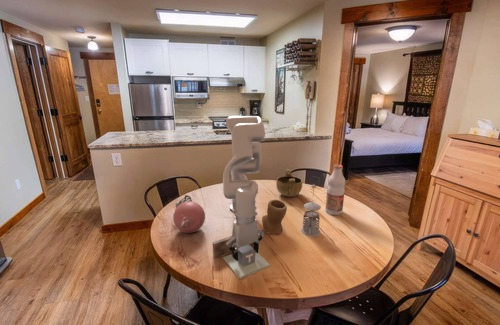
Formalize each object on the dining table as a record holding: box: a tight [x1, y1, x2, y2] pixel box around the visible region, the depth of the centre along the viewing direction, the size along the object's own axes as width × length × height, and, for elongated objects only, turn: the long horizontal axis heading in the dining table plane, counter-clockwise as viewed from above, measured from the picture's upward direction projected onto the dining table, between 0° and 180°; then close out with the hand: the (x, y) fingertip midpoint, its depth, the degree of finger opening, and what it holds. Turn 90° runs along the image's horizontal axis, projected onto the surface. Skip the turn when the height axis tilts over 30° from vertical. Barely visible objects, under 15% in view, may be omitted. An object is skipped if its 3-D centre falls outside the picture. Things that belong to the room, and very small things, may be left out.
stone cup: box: [261, 199, 288, 235], centre depth 130 cm, size 15×12×15 cm
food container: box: [175, 194, 193, 208], centre depth 144 cm, size 12×6×10 cm, turn 168°
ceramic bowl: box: [275, 169, 303, 198], centre depth 170 cm, size 22×17×15 cm
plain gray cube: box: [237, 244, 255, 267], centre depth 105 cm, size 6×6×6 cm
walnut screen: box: [212, 235, 253, 259], centre depth 114 cm, size 20×2×7 cm, turn 121°
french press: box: [300, 184, 322, 238], centre depth 125 cm, size 10×12×25 cm
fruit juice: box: [324, 163, 346, 216], centre depth 145 cm, size 9×9×28 cm
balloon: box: [172, 200, 206, 234], centre depth 126 cm, size 15×20×15 cm
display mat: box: [222, 252, 271, 280], centre depth 106 cm, size 14×14×1 cm
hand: (245, 255), depth 105 cm, fingers open, 9 cm apart
